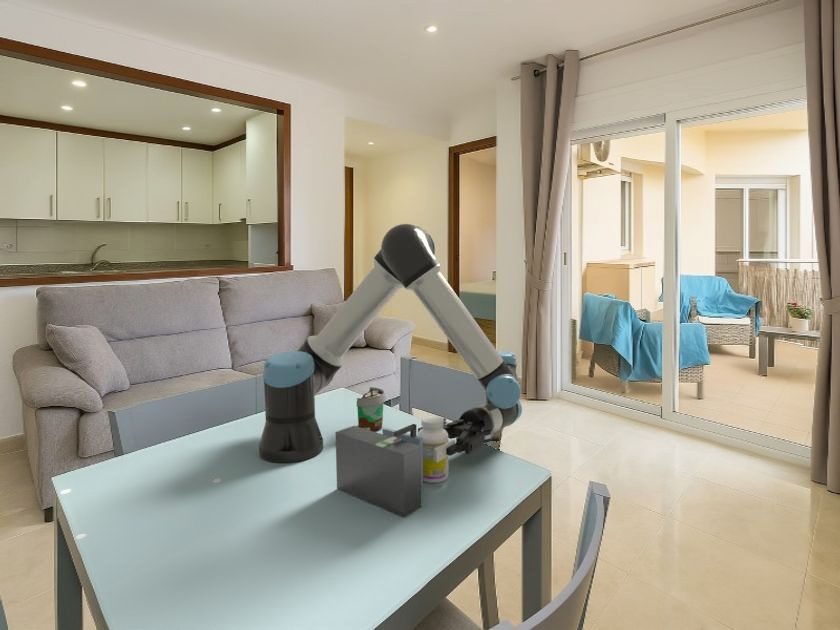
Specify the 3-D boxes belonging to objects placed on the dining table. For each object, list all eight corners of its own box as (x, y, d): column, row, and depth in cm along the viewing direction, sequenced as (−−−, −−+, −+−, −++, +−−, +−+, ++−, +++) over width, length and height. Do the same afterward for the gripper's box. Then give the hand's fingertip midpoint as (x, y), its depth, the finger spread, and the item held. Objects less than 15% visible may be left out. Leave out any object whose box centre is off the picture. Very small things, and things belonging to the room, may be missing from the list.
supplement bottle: (426, 468, 112) (426, 412, 111) (453, 474, 109) (453, 416, 107) (411, 480, 106) (411, 421, 105) (439, 486, 103) (439, 426, 102)
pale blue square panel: (366, 482, 103) (365, 423, 102) (386, 472, 108) (385, 416, 106) (403, 496, 97) (403, 434, 95) (422, 485, 102) (422, 426, 100)
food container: (379, 437, 132) (378, 399, 130) (357, 435, 133) (356, 398, 132) (391, 421, 144) (391, 387, 142) (370, 420, 145) (370, 386, 144)
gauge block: (336, 489, 102) (335, 431, 101) (354, 480, 106) (353, 424, 105) (404, 517, 91) (403, 452, 90) (421, 506, 95) (421, 444, 94)
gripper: (516, 446, 116) (460, 482, 98) (447, 428, 128) (386, 457, 110) (517, 415, 115) (460, 445, 97) (447, 400, 127) (385, 424, 109)
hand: (421, 451), depth 104 cm, fingers closed on supplement bottle, 7 cm apart
